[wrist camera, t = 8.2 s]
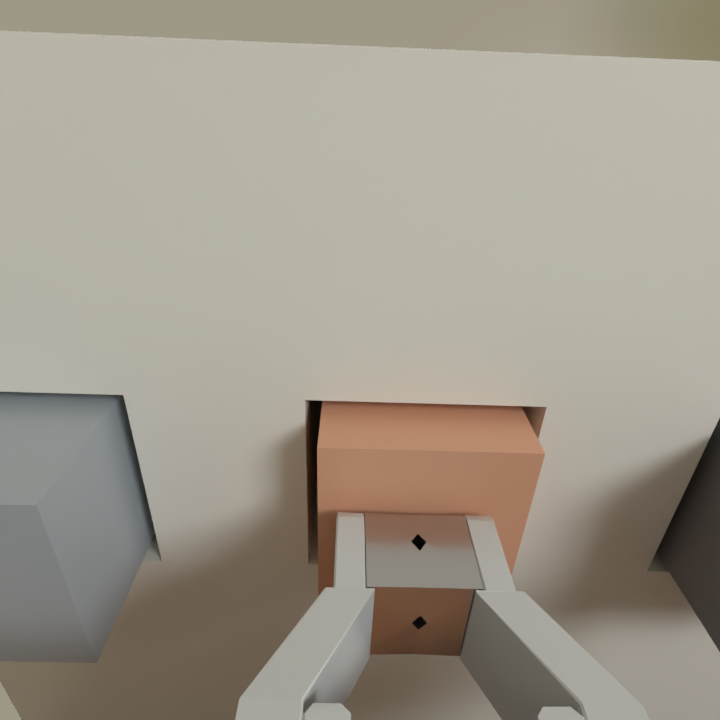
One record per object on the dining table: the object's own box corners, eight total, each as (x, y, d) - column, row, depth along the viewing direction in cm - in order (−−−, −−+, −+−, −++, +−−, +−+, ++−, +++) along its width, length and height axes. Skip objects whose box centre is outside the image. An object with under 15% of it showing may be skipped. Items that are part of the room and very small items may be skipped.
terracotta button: (504, 599, 11) (545, 453, 9) (318, 595, 11) (316, 447, 9) (469, 471, 14) (492, 347, 12) (328, 468, 14) (328, 342, 12)
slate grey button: (97, 662, 9) (36, 505, 7) (-123, 659, 9) (-243, 498, 7) (168, 503, 13) (140, 368, 11) (9, 500, 13) (-48, 362, 11)
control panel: (690, 795, 18) (1260, 83, 7) (60, 787, 17) (-376, 15, 6) (624, 653, 22) (911, 82, 11) (120, 644, 22) (-81, 41, 11)
